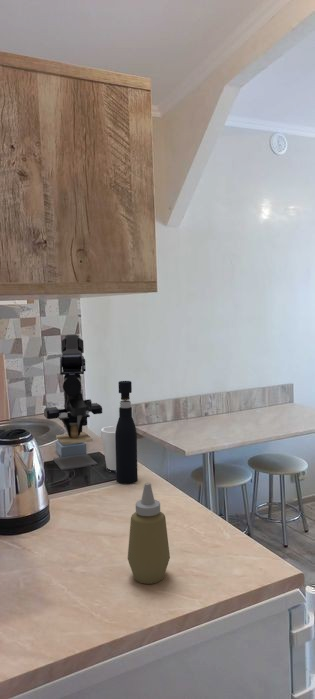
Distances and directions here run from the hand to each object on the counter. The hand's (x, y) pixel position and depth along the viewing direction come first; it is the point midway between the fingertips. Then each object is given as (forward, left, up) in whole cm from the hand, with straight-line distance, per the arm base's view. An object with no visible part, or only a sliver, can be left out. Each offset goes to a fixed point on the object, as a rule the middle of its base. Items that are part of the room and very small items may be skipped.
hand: (74, 435), depth 162 cm
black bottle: (+25, +9, -9) cm, 28 cm away
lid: (0, 0, -1) cm, 1 cm away
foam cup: (+13, +10, -9) cm, 19 cm away
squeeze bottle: (+76, -6, -9) cm, 76 cm away
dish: (-11, +1, -9) cm, 14 cm away
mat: (0, 0, -9) cm, 9 cm away
